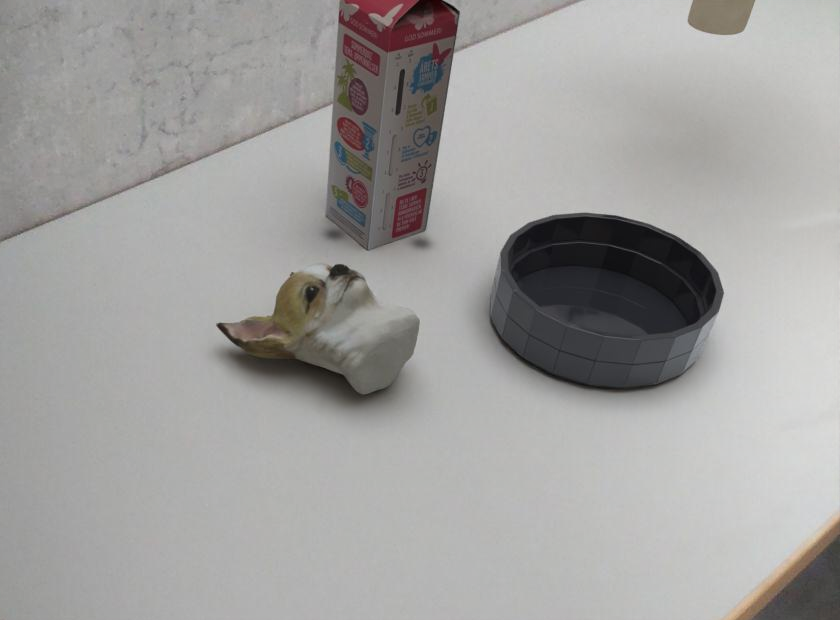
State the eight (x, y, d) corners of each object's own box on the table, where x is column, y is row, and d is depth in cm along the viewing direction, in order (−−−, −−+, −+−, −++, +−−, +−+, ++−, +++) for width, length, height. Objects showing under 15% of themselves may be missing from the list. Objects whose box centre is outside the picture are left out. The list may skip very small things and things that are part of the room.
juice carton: (382, 196, 90) (412, -66, 74) (426, 230, 87) (467, -38, 70) (325, 215, 88) (342, -53, 71) (367, 250, 84) (396, -23, 68)
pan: (602, 245, 86) (618, 194, 82) (745, 352, 77) (770, 300, 73) (448, 295, 80) (457, 243, 76) (581, 418, 71) (600, 365, 67)
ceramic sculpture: (375, 335, 62) (204, 260, 68) (369, 436, 68) (212, 360, 74) (461, 266, 68) (296, 203, 74) (448, 366, 74) (296, 300, 80)
